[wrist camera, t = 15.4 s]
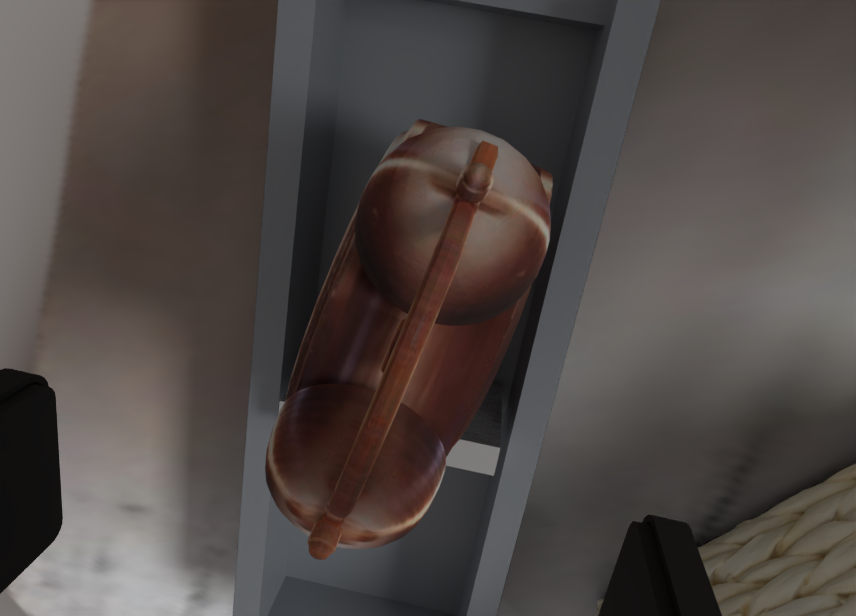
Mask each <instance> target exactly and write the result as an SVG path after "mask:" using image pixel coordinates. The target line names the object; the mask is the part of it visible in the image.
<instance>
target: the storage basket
mask: <svg viewBox="0 0 856 616" xmlns="http://www.w3.org/2000/svg"><path fill="white" fill-rule="evenodd" d="M697 548H698V550H699V553H700V556H701V559H702V561H703V564H704V567H705V570H706V572H707V575H708V578H709V581H710V583H711V586H712V589H713V592H714V595H715V597H716V600H717V603H718V606H719V608H720V611H721V614H722V616H856V463H855V464H853V465H851V466H849V467H847V468H845V469H843V470H841V471H839V472H837V473H835V474H834V475H832V476H831V477H829V478H828V479H827V480H825V481H824V482H823V483H821V484H818V485H815V486H814V487H811V488H809V489H804V490H803V491H801V492H800V493H798V494H796V495H794V496H792V497H791V498H789V499H787V500H785V501H783V502H781V503H780V504H778V505H776V506H775V507H773V508H772V509H770V510H769V511H767V512H765V513H764V514H762V515H760V516H758V517H756V518H754V519H751V520H746V521H744V522H742V523H740V524H738V525H737V526H736V527H735V528H734V529H733V530H731V531H729V532H728V533H726V534H724V535H722V536H720V537H718V538H716V539H714V540H712V541H710V542H708V543H707V544H705V545H703V546H701V547H697ZM603 600H604V599H603ZM603 600H602V599H600V600H599V601H597V605H598V606H597V616H598V615H599V612H600V609H601V606H602V603H603Z"/></svg>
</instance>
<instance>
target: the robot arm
mask: <svg viewBox="0 0 856 616" xmlns="http://www.w3.org/2000/svg"><path fill="white" fill-rule="evenodd" d="M62 519H63V517H62V500H61V482H60V465H59V448H58V431H57V413H56V397H55V392H54V390H53V389H52V388H50V387H49V386H48V382H47V381H46V379H45V378H44V377H42V376H40V375H36V374H31V373H27V372H22V371H17V370H13V369H2V370H0V593H1V592H3V590H5V589H6V588H7V587H8V586H9V585H10V584H11V583H12V582H13V581H14V580H15V579H16V578H17V577H18V576H19V575H20V574H21V573H22V572H23V571H24V570H25V569H26V568H27V567H28V566H29V565H30V564H31V563H32V562H33V561H34V560H35V559H36V558H37V557H38V556H39V555H40V554H41V553H42V552H43V551H44V550H45V549H46V548H47V547H48V546H49V545H50V544H51V543H52V542H53V541H54V540H55V538H56V537H57V535H58V533H59V531H60V529H61V525H62ZM598 616H722V614H721V611H720V608H719V606H718V603H717V600H716V597H715V595H714V592H713V589H712V586H711V583H710V581H709V578H708V575H707V572H706V570H705V567H704V564H703V561H702V559H701V556H700V553H699V550H698V548H697V545H696V542H695V539H694V536H693V534H692V531H691V529H690V527H689V525H688V524H686V523H684V522H680V521H676V520H671V519H667V518H662V517H658V516H654V515H647V516H646V517H645V518H644V520H643V522H642V523H640V522H636V521H633V522H632V523H631V524H630V526H629V529H628V531H627V534H626V537H625V540H624V543H623V546H622V549H621V551H620V554H619V557H618V560H617V563H616V566H615V569H614V571H613V574H612V577H611V580H610V583H609V586H608V589H607V592H606V594H605V597H604V600H603V603H602V606H601V609H600V612H599V615H598Z"/></svg>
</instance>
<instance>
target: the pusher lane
mask: <svg viewBox="0 0 856 616" xmlns="http://www.w3.org/2000/svg"><path fill="white" fill-rule="evenodd" d="M660 1H661V0H278V11H277V25H276V38H275V52H274V65H273V79H272V92H271V106H270V119H269V133H268V146H267V160H266V174H265V187H264V201H263V214H262V228H261V241H260V255H259V268H258V282H257V295H256V309H255V322H254V336H253V349H252V363H251V376H250V390H249V403H248V417H247V430H246V444H245V457H244V471H243V484H242V498H241V511H240V525H239V538H238V552H237V566H236V579H235V593H234V606H233V616H496V615H497V611H498V607H499V603H500V600H501V596H502V592H503V588H504V585H505V581H506V577H507V573H508V570H509V566H510V562H511V558H512V555H513V551H514V547H515V544H516V540H517V536H518V532H519V529H520V525H521V521H522V517H523V514H524V510H525V506H526V502H527V499H528V495H529V491H530V487H531V484H532V480H533V476H534V472H535V469H536V465H537V461H538V458H539V454H540V450H541V446H542V443H543V439H544V435H545V431H546V428H547V424H548V420H549V416H550V413H551V409H552V405H553V401H554V398H555V394H556V390H557V386H558V383H559V379H560V375H561V372H562V368H563V364H564V360H565V357H566V353H567V349H568V345H569V342H570V338H571V334H572V330H573V327H574V323H575V319H576V315H577V312H578V308H579V304H580V300H581V297H582V293H583V289H584V286H585V282H586V278H587V274H588V271H589V267H590V263H591V259H592V256H593V252H594V248H595V244H596V241H597V237H598V233H599V229H600V226H601V222H602V218H603V214H604V211H605V207H606V203H607V200H608V196H609V192H610V188H611V185H612V181H613V177H614V173H615V170H616V166H617V162H618V158H619V155H620V151H621V147H622V143H623V140H624V136H625V132H626V128H627V125H628V121H629V117H630V114H631V110H632V106H633V102H634V99H635V95H636V91H637V87H638V84H639V80H640V76H641V72H642V69H643V65H644V61H645V57H646V54H647V50H648V46H649V42H650V39H651V35H652V31H653V28H654V24H655V20H656V16H657V13H658V9H659V5H660ZM418 119H422V120H426V121H430V122H434V123H437V124H440V125H443V126H447V127H465V128H471V129H477V130H482V131H484V132H487V133H489V134H491V135H494V136H496V137H498V138H501V139H503V140H505V141H506V142H507V143H509V144H510V145H511V146H512V147H514V148H515V149H516V150H517V151H519V152H520V153H521V154H522V155H523V156H524V157H526V159H527V160H528V161H529V162H531V163H532V164H534V165H536V166H538V167H540V168H542V169H544V170H546V171H548V172H550V174H551V175H552V179H553V186H552V196H551V200H550V205H549V206H550V220H551V229H550V241H549V244H548V248H547V252H546V255H545V258H544V260H543V263H542V265H541V268H540V270H539V273H538V275H537V277H536V278H535V280H534V281H533V282H532V285H531V289H530V292H529V295H528V298H527V300H526V303H525V306H524V308H523V311H522V314H521V317H520V319H519V322H518V324H517V327H516V329H515V332H514V334H513V337H512V339H511V342H510V344H509V347H508V349H507V352H506V354H505V356H504V358H503V360H502V363H501V365H500V367H499V369H498V372H497V374H496V376H495V378H494V380H493V382H492V384H497V385H502V386H503V389H502V419H501V448H500V452H499V457H498V461H497V465H496V469H495V473H494V476H492V475H488V474H483V473H478V472H474V471H469V470H464V469H460V468H455V467H451V466H446V467H445V472H444V475H443V478H442V481H441V484H440V487H439V489H438V491H437V493H436V495H435V497H434V499H433V501H432V503H431V505H430V507H429V509H428V510H427V512H426V513H425V514H424V516H423V517H422V519H421V520H420V521H419V523H418V524H417V525H416V527H414V528H413V529H412V530H411V531H410V532H409V533H408V534H406V535H405V536H404V537H403V538H400V539H398V540H396V541H393V542H391V543H389V544H387V545H383V546H380V547H376V548H367V549H349V548H340V547H337V548H336V550H335V552H334V553H332V554H330V555H329V556H328V557H327V558H326V559H324V560H318V559H315V558H313V557H312V556H311V555H310V553H309V545H308V543H307V541H308V538H309V536H308V535H306V534H305V533H303V532H302V531H300V530H299V529H298V528H296V527H295V526H294V525H293V524H292V523H291V522H290V521H289V520H288V519H287V518H286V517H285V516H284V515H283V514H282V513H281V511H280V510H279V509H278V507H277V506H276V504H275V502H274V500H273V498H272V496H271V493H270V491H269V488H268V486H267V483H266V475H265V464H266V451H267V447H268V443H269V440H270V436H271V432H272V429H273V426H274V423H275V421H276V418H277V416H278V414H279V403H280V400H281V399H282V397H283V396H284V394H285V393H286V392H287V390H288V387H289V383H290V379H291V375H292V372H293V369H294V366H295V362H296V359H297V356H298V352H299V349H300V346H301V343H302V340H303V338H304V335H305V332H306V329H307V327H308V324H309V321H310V318H311V316H312V313H313V310H314V307H315V305H316V302H317V300H318V297H319V295H320V292H321V290H322V287H323V285H324V282H325V280H326V277H327V275H328V272H329V270H330V267H331V265H332V262H333V260H334V258H335V255H336V253H337V251H338V248H339V246H340V244H341V242H342V239H343V237H344V235H345V232H346V230H347V228H348V226H349V223H350V221H351V219H352V217H353V215H354V213H355V211H356V209H357V206H358V204H359V202H360V199H361V196H362V193H363V191H364V189H365V187H366V185H367V183H368V181H369V179H370V178H371V176H372V174H373V173H374V171H375V170H376V168H377V166H378V165H379V163H380V162H381V160H382V158H383V156H384V155H385V153H386V151H387V150H388V148H389V147H390V145H391V144H392V142H393V141H394V140H395V138H396V137H397V136H398V135H399V134H401V133H403V132H406V131H409V129H410V128H411V127H412V125H413V124H414V122H415V121H417V120H418Z"/></svg>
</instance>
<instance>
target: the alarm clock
mask: <svg viewBox="0 0 856 616" xmlns="http://www.w3.org/2000/svg"><path fill="white" fill-rule="evenodd" d="M552 186H553V179H552V175H551V174H550V172H548V171H546V170H544V169H542V168H540V167H538V166H536V165H534V164H532V163H531V162H529V161H528V160H527V159H526V157H524V156H523V155H522V154H521V153H520V152H519V151H517V150H516V149H515V148H514V147H512V146H511V145H510V144H509V143H507V142H506V141H505V140H503V139H501V138H498V137H496V136H494V135H491V134H489V133H487V132H484V131H482V130H477V129H471V128H465V127H447V126H443V125H440V124H437V123H434V122H430V121H426V120H422V119H418V120H417V121H415V122H414V124H413V125H412V127H411V128H410V129H409V131H406V132H403V133H401V134H399V135H398V136H397V137H396V138H395V140H394V141H393V142H392V144H391V145H390V147H389V148H388V150H387V151H386V153H385V155H384V156H383V158H382V160H381V162H380V163H379V165H378V166H377V168H376V170H375V171H374V173H373V174H372V176H371V178H370V179H369V181H368V183H367V185H366V187H365V189H364V191H363V193H362V196H361V199H360V202H359V204H358V206H357V209H356V211H355V213H354V215H353V217H352V219H351V221H350V223H349V226H348V228H347V230H346V232H345V235H344V237H343V239H342V242H341V244H340V246H339V248H338V251H337V253H336V255H335V258H334V260H333V262H332V265H331V267H330V270H329V272H328V275H327V277H326V280H325V282H324V285H323V287H322V290H321V292H320V295H319V297H318V300H317V302H316V305H315V307H314V310H313V313H312V316H311V318H310V321H309V324H308V327H307V329H306V332H305V335H304V338H303V340H302V343H301V346H300V349H299V352H298V356H297V359H296V362H295V366H294V369H293V372H292V375H291V379H290V383H289V387H288V391H287V396H286V401H285V402H284V404H283V406H282V408H281V410H280V411H279V414H278V416H277V418H276V421H275V423H274V426H273V429H272V432H271V436H270V440H269V443H268V447H267V451H266V464H265V475H266V483H267V486H268V488H269V491H270V493H271V496H272V498H273V500H274V502H275V504H276V506H277V507H278V509H279V510H280V511H281V513H282V514H283V515H284V516H285V517H286V518H287V519H288V520H289V521H290V522H291V523H292V524H293V525H294V526H295V527H296V528H298V529H299V530H300V531H302V532H303V533H305V534H306V535H308V536H309V538H308V541H307V543H308V545H309V553H310V555H311V556H312V557H313V558H315V559H318V560H324V559H326V558H327V557H328V556H329V555H330V554H332V553H334V552H335V550H336V548H337V547H340V548H349V549H367V548H376V547H380V546H383V545H387V544H389V543H391V542H393V541H396V540H398V539H400V538H403V537H404V536H405V535H406V534H408V533H409V532H410V531H411V530H412V529H413V528H414V527H416V525H417V524H418V523H419V521H420V520H421V519H422V517H423V516H424V514H425V513H426V512H427V510H428V509H429V507H430V505H431V503H432V501H433V499H434V497H435V495H436V493H437V491H438V489H439V487H440V484H441V481H442V478H443V475H444V472H445V467H446V457H447V456H448V454H449V452H450V451H451V449H452V447H453V446H454V445H455V444H456V443H457V442H458V441H459V440H460V438H461V437H462V435H463V434H464V432H465V431H466V430H467V428H468V427H469V425H470V423H471V421H472V420H473V418H474V416H475V415H476V413H477V411H478V409H479V408H480V406H481V404H482V402H483V400H484V398H485V396H486V394H487V392H488V390H489V388H490V386H491V384H492V382H493V380H494V378H495V376H496V374H497V372H498V369H499V367H500V365H501V363H502V360H503V358H504V356H505V354H506V352H507V349H508V347H509V344H510V342H511V339H512V337H513V334H514V332H515V329H516V327H517V324H518V322H519V319H520V317H521V314H522V311H523V308H524V306H525V303H526V300H527V298H528V295H529V292H530V289H531V285H532V282H533V281H534V280H535V278H536V277H537V275H538V273H539V270H540V268H541V265H542V263H543V260H544V258H545V255H546V252H547V248H548V244H549V241H550V229H551V220H550V206H549V205H550V200H551V196H552Z"/></svg>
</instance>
